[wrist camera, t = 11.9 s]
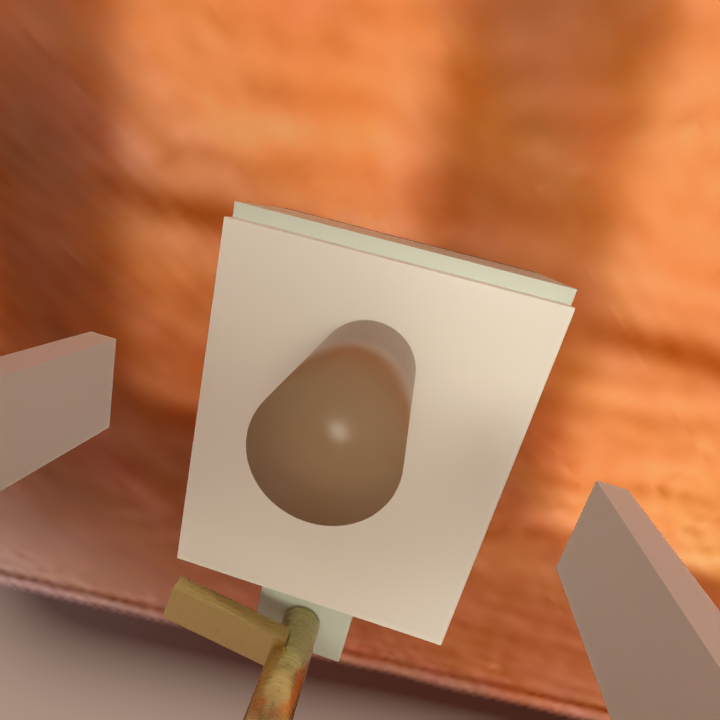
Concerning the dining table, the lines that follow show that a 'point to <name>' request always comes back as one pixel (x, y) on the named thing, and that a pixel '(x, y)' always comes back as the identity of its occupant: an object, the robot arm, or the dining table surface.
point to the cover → (358, 423)
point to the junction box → (491, 272)
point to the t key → (252, 643)
